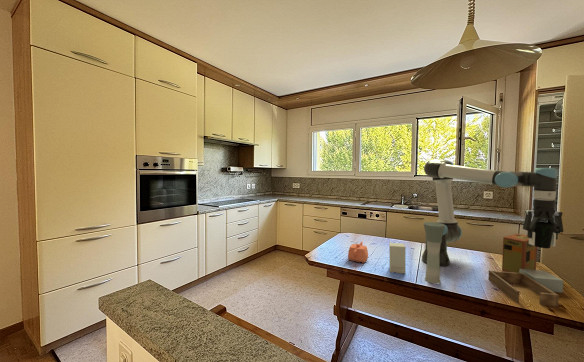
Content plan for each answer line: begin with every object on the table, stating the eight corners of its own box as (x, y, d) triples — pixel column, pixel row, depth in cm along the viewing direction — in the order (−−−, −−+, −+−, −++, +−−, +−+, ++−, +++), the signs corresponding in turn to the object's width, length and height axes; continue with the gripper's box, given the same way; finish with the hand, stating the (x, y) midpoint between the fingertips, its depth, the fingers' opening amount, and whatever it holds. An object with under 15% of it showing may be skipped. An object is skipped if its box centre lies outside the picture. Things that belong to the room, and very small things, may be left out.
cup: (540, 243, 123) (541, 220, 122) (557, 248, 115) (559, 224, 115) (526, 244, 122) (527, 221, 122) (543, 249, 115) (544, 224, 114)
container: (436, 286, 119) (438, 227, 118) (418, 278, 128) (419, 223, 126) (447, 282, 124) (449, 224, 122) (429, 275, 132) (430, 221, 131)
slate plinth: (534, 290, 116) (535, 277, 115) (518, 279, 126) (519, 268, 126) (562, 292, 113) (563, 280, 113) (544, 282, 124) (545, 270, 123)
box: (522, 278, 128) (524, 241, 127) (501, 271, 136) (503, 237, 135) (535, 271, 136) (537, 237, 135) (515, 266, 144) (516, 233, 143)
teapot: (345, 262, 150) (345, 246, 150) (353, 253, 166) (353, 239, 165) (363, 266, 144) (363, 249, 144) (370, 256, 160) (370, 241, 159)
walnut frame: (516, 302, 105) (516, 291, 105) (488, 279, 127) (488, 270, 126) (558, 306, 102) (559, 295, 102) (522, 282, 123) (522, 273, 123)
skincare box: (404, 269, 139) (404, 243, 138) (405, 274, 133) (406, 247, 132) (388, 267, 142) (389, 242, 141) (389, 272, 136) (389, 245, 135)
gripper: (524, 199, 116) (522, 246, 117) (577, 201, 111) (574, 249, 113) (514, 197, 124) (512, 241, 125) (563, 199, 119) (560, 244, 120)
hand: (541, 245), depth 119 cm, fingers closed on cup, 8 cm apart
